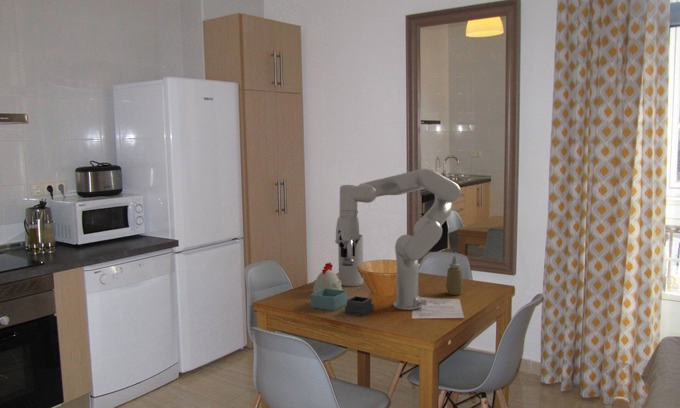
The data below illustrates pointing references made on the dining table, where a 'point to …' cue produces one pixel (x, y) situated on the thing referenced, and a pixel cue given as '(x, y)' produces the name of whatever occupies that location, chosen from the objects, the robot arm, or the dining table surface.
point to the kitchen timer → (327, 279)
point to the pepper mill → (348, 254)
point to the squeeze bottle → (454, 278)
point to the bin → (329, 299)
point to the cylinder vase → (352, 267)
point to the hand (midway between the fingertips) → (347, 256)
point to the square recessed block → (359, 306)
